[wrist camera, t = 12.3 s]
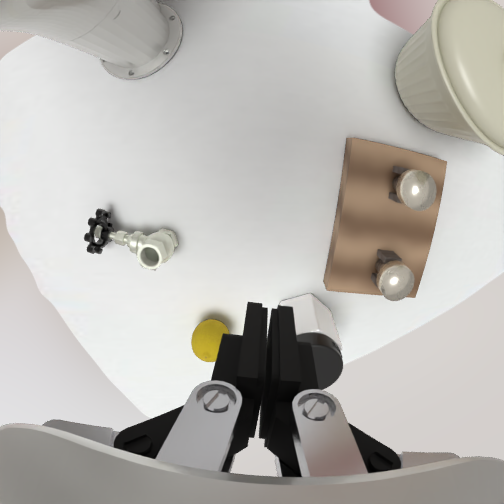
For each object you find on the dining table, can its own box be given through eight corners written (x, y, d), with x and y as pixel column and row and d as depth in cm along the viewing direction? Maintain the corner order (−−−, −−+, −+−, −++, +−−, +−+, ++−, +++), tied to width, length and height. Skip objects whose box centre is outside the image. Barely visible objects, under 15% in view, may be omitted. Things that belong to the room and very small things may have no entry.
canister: (352, 100, 33) (433, 61, 13) (398, 10, 27) (472, -55, 7) (452, 172, 35) (557, 203, 15) (487, 82, 29) (582, 72, 9)
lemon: (192, 314, 45) (179, 345, 37) (225, 305, 44) (216, 337, 36) (206, 342, 47) (196, 374, 39) (238, 334, 46) (232, 368, 38)
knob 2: (371, 247, 36) (387, 265, 31) (400, 251, 36) (418, 268, 31) (363, 278, 38) (377, 299, 32) (391, 281, 38) (408, 301, 32)
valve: (183, 221, 40) (109, 203, 40) (168, 235, 34) (85, 214, 34) (176, 264, 42) (105, 244, 42) (161, 284, 36) (83, 260, 36)
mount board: (346, 138, 35) (359, 136, 29) (436, 159, 34) (458, 163, 29) (323, 281, 42) (330, 301, 36) (407, 288, 41) (423, 307, 36)
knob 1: (386, 163, 33) (406, 167, 27) (416, 170, 33) (439, 175, 27) (381, 197, 34) (400, 207, 29) (410, 203, 34) (432, 214, 28)
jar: (318, 344, 46) (328, 398, 34) (269, 336, 45) (268, 391, 34) (336, 297, 42) (355, 347, 31) (283, 287, 42) (287, 336, 31)
